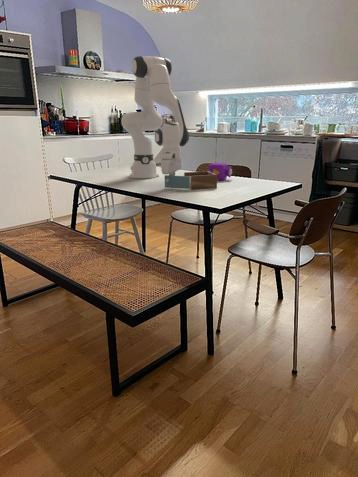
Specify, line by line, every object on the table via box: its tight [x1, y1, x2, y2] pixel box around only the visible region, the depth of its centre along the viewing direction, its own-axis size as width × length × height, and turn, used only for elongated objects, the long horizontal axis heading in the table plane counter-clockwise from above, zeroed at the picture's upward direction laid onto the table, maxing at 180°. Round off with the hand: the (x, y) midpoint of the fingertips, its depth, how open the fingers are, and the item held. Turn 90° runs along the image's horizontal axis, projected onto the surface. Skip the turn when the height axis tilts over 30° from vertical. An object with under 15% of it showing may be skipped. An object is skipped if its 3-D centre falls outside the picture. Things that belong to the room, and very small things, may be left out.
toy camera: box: [208, 161, 233, 181], centre depth 223 cm, size 11×14×10 cm
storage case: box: [183, 170, 218, 191], centre depth 202 cm, size 14×14×7 cm
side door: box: [164, 174, 192, 190], centre depth 195 cm, size 14×2×7 cm, turn 70°
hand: (172, 180), depth 199 cm, fingers closed
